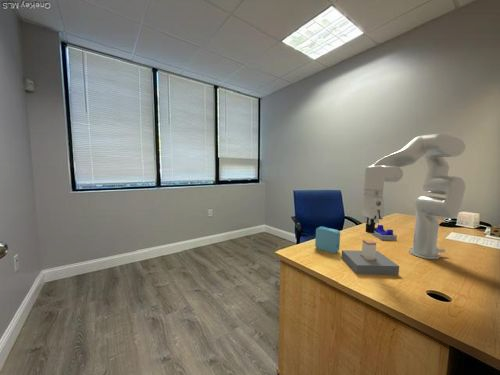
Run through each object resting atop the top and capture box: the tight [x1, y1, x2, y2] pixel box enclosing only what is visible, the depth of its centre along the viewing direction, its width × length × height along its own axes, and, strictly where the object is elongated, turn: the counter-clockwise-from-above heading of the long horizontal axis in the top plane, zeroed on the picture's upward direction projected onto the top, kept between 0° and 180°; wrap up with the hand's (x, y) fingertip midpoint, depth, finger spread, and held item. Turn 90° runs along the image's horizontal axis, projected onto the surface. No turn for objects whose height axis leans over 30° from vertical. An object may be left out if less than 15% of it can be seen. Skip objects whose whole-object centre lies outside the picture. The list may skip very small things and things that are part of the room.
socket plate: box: [341, 249, 400, 276], centre depth 99 cm, size 18×16×4 cm
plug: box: [361, 239, 377, 260], centre depth 99 cm, size 4×4×12 cm
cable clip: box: [375, 224, 394, 235], centre depth 142 cm, size 12×4×6 cm, turn 179°
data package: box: [314, 226, 341, 254], centre depth 117 cm, size 12×4×12 cm, turn 45°
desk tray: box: [369, 226, 398, 241], centre depth 142 cm, size 10×18×3 cm, turn 179°
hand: (369, 232), depth 97 cm, fingers closed
